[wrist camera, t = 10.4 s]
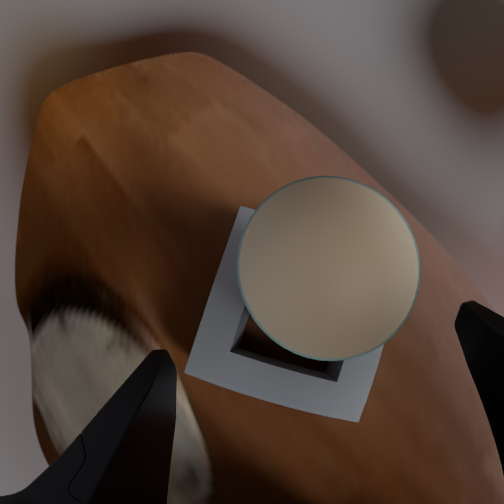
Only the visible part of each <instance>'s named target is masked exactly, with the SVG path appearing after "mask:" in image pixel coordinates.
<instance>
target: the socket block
mask: <svg viewBox="0 0 504 504" xmlns="http://www.w3.org/2000/svg"><path fill="white" fill-rule="evenodd" d="M254 212H255V210H254V209H250V208H246V207H243V206H240V209H239V211H238V214H237V217H236V220H235V223H234V225H233V228H232V231H231V234H230V237H229V240H228V243H227V245H226V248H225V251H224V254H223V257H222V260H221V263H220V266H219V269H218V272H217V275H216V277H215V280H214V283H213V286H212V289H211V292H210V295H209V298H208V301H207V304H206V307H205V310H204V313H203V316H202V319H201V322H200V325H199V329H198V332H197V335H196V338H195V341H194V344H193V347H192V350H191V353H190V356H189V360H188V363H187V366H186V369H185V372H184V373H186V374H189V375H191V376H194V377H196V378H199V379H202V380H204V381H207V382H210V383H213V384H215V385H218V386H221V387H224V388H227V389H230V390H233V391H236V392H239V393H242V394H245V395H248V396H252V397H255V398H258V399H261V400H265V401H268V402H272V403H275V404H279V405H283V406H286V407H290V408H294V409H298V410H302V411H306V412H310V413H314V414H319V415H323V416H328V417H333V418H337V419H342V420H348V421H353V422H359V419H360V417H361V414H362V411H363V408H364V406H365V403H366V400H367V397H368V394H369V391H370V388H371V385H372V382H373V379H374V376H375V373H376V370H377V366H378V363H379V360H380V356H381V353H382V349H383V346H384V344H383V345H382V346H380V347H378V348H377V349H375V350H373V351H371V352H370V353H367V354H365V355H362V356H359V357H356V358H352V359H348V360H340V361H329V362H328V365H327V369H326V372H325V373H324V372H320V371H316V370H312V369H309V368H305V367H301V366H297V365H294V364H290V363H287V362H283V361H280V360H276V359H273V358H269V357H266V356H263V355H260V354H256V353H253V352H250V351H247V350H244V349H241V348H239V345H240V342H241V339H242V336H243V333H244V330H245V327H246V323H247V320H248V317H249V314H250V313H249V311H248V310H247V307H246V305H245V303H244V300H243V298H242V295H241V291H240V288H239V284H238V277H237V254H238V247H239V243H240V240H241V236H242V234H243V231H244V229H245V226H246V224H247V222H248V221H249V219H250V217H251V216H252V214H253V213H254Z"/></svg>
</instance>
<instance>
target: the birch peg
mask: <svg viewBox="0 0 504 504" xmlns="http://www.w3.org/2000/svg"><path fill="white" fill-rule="evenodd" d="M237 277H238V284H239V288H240V291H241V295H242V298H243V300H244V303H245V305H246V307H247V310H248V311H249V313H250V314H251V316H252V318H253V319H254V321H255V322H256V323H257V325H258V326H259V327H260V328H261V330H262V331H263V332H264V333H265V334H266V335H268V336H269V337H270V338H271V339H272V340H273V341H274V342H276V343H277V344H279V345H280V346H282V347H283V348H285V349H287V350H289V351H291V352H293V353H295V354H297V355H300V356H303V357H306V358H310V359H315V360H321V361H340V360H348V359H352V358H356V357H359V356H362V355H365V354H367V353H370V352H371V351H373V350H375V349H377V348H378V347H380V346H382V345H383V344H384V343H386V342H387V341H388V340H389V339H391V338H392V337H393V336H394V335H395V334H396V333H397V331H398V330H399V329H400V328H401V327H402V325H403V324H404V322H405V321H406V320H407V318H408V316H409V314H410V312H411V310H412V308H413V306H414V303H415V300H416V297H417V293H418V289H419V283H420V259H419V252H418V249H417V245H416V241H415V239H414V236H413V234H412V231H411V229H410V227H409V226H408V224H407V222H406V220H405V219H404V217H403V216H402V215H401V213H400V212H399V211H398V209H397V208H396V207H395V206H394V205H393V204H392V203H391V202H390V201H389V200H388V199H386V198H385V197H384V196H383V195H382V194H380V193H379V192H377V191H376V190H374V189H372V188H370V187H369V186H367V185H365V184H362V183H360V182H357V181H354V180H351V179H347V178H343V177H335V176H316V177H309V178H305V179H301V180H297V181H295V182H292V183H290V184H287V185H285V186H284V187H282V188H280V189H278V190H277V191H275V192H274V193H273V194H271V195H270V196H269V197H267V198H266V199H265V200H264V201H263V202H262V203H261V204H260V205H259V206H258V208H257V209H256V210H255V212H254V213H253V214H252V216H251V217H250V219H249V221H248V222H247V224H246V226H245V229H244V231H243V234H242V236H241V240H240V243H239V247H238V254H237Z"/></svg>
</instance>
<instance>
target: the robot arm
mask: <svg viewBox="0 0 504 504" xmlns="http://www.w3.org/2000/svg"><path fill="white" fill-rule="evenodd" d="M455 330H456V333H457V335H458V338H459V341H460V344H461V347H462V350H463V353H464V356H465V359H466V362H467V365H468V368H469V370H470V373H471V375H472V378H473V380H474V383H475V385H476V388H477V390H478V393H479V395H480V398H481V401H482V403H483V406H484V409H485V412H486V415H487V418H488V421H489V424H490V427H491V430H492V433H493V436H494V439H495V443H496V446H497V450H498V454H499V457H500V461H501V465H502V470H503V474H504V317H502V316H501V315H499V314H497V313H495V312H493V311H492V310H490V309H488V308H486V307H484V306H482V305H481V304H479V303H477V302H475V301H467V302H464V303H462V304H461V306H460V309H459V312H458V314H457V317H456V320H455ZM176 383H177V371H176V367H175V365H174V363H173V361H172V359H171V357H170V355H169V353H168V351H167V350H165V349H161V350H153V351H151V352H150V354H149V355H148V356H147V357H146V358H145V359H144V360H143V362H142V363H141V364H140V365H139V366H138V367H137V368H136V370H135V371H134V372H133V373H132V374H131V375H130V376H129V378H128V379H127V380H126V381H125V382H124V383H123V384H122V386H121V387H120V388H119V389H118V390H117V391H116V393H115V394H114V395H113V396H112V397H111V398H110V399H109V401H108V402H107V403H106V404H105V405H104V406H103V408H102V409H101V410H100V411H99V412H98V413H97V415H96V416H95V417H94V418H93V419H92V420H91V421H90V423H89V424H88V425H87V426H86V427H85V428H84V430H83V431H82V434H79V435H78V436H77V438H76V439H75V440H74V441H73V442H72V443H71V445H70V446H69V447H68V448H67V449H66V450H65V451H64V452H63V453H62V454H61V455H60V456H59V457H58V458H57V459H56V460H55V461H54V462H53V463H52V464H51V465H50V466H49V467H48V468H47V469H46V470H45V471H44V472H43V473H42V474H41V475H39V476H38V477H37V478H36V479H35V480H34V481H33V482H32V483H31V484H30V485H29V486H27V487H26V488H25V489H23V490H22V491H19V492H17V493H15V494H11V495H6V496H0V504H167V493H168V483H169V473H170V464H171V455H172V447H173V438H174V430H175V422H176Z"/></svg>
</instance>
